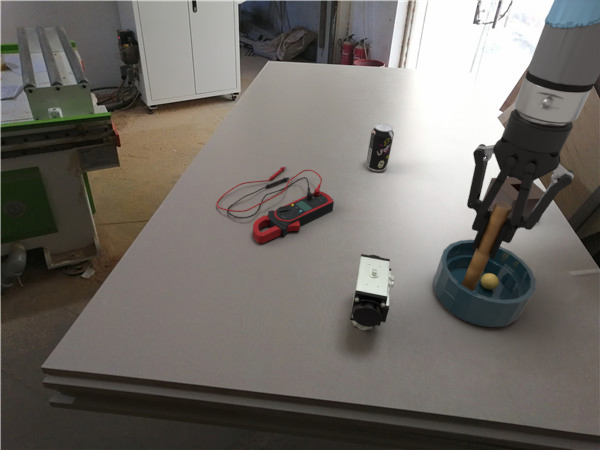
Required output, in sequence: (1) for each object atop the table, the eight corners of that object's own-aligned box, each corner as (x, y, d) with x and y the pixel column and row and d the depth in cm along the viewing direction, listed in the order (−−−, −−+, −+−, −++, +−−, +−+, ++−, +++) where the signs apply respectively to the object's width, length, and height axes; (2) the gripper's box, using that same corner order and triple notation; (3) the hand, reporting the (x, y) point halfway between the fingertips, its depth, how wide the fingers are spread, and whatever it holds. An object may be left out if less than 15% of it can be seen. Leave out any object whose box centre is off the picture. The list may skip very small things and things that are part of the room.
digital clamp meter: (351, 192, 92) (262, 234, 79) (349, 208, 95) (262, 251, 82) (287, 151, 106) (202, 181, 92) (287, 166, 108) (204, 197, 95)
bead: (492, 288, 76) (496, 273, 76) (498, 293, 73) (503, 277, 73) (476, 284, 76) (480, 269, 76) (481, 289, 73) (486, 273, 73)
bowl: (490, 263, 82) (503, 237, 78) (538, 325, 70) (556, 298, 66) (418, 269, 80) (427, 242, 75) (455, 335, 68) (468, 307, 63)
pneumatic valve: (345, 345, 65) (355, 295, 57) (353, 292, 74) (363, 243, 66) (379, 353, 64) (394, 302, 57) (383, 298, 73) (396, 249, 66)
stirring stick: (470, 281, 74) (506, 200, 63) (477, 291, 72) (515, 209, 61) (458, 282, 73) (492, 201, 62) (465, 292, 72) (500, 210, 60)
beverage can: (390, 166, 111) (398, 126, 104) (381, 175, 107) (389, 133, 100) (371, 160, 113) (378, 120, 106) (361, 168, 110) (368, 127, 102)
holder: (515, 200, 101) (526, 176, 97) (538, 222, 94) (551, 197, 90) (481, 202, 100) (491, 177, 95) (502, 225, 92) (513, 200, 88)
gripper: (475, 108, 53) (431, 242, 68) (608, 142, 47) (528, 283, 61) (490, 92, 58) (447, 221, 73) (613, 122, 52) (538, 257, 66)
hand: (484, 249), depth 67 cm, fingers closed on stirring stick, 2 cm apart
